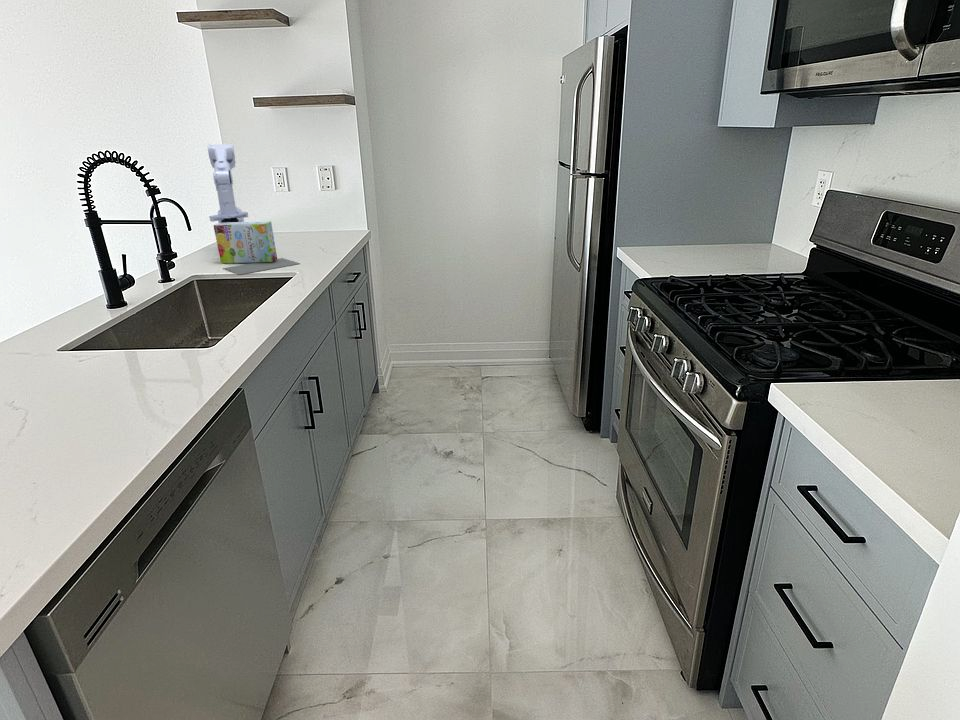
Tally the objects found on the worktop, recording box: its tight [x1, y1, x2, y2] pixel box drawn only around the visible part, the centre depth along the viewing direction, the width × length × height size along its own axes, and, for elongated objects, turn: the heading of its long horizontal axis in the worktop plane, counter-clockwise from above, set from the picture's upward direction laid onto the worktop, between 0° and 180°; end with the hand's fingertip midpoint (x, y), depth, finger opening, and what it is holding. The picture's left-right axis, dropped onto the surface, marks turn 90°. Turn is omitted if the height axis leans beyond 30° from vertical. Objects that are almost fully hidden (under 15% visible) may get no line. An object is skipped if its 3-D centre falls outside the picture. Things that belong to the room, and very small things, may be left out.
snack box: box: [213, 220, 278, 264], centre depth 239 cm, size 21×6×15 cm, turn 84°
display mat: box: [222, 257, 301, 276], centre depth 235 cm, size 14×24×1 cm, turn 134°
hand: (232, 237), depth 245 cm, fingers closed
